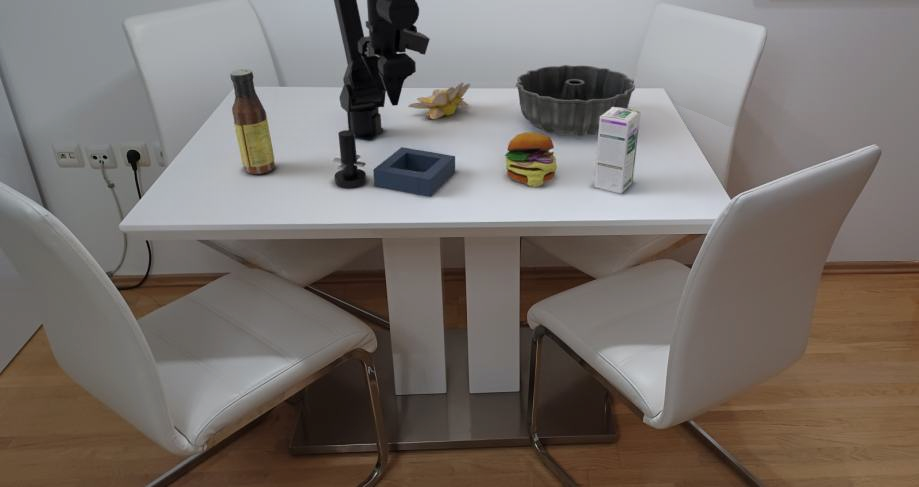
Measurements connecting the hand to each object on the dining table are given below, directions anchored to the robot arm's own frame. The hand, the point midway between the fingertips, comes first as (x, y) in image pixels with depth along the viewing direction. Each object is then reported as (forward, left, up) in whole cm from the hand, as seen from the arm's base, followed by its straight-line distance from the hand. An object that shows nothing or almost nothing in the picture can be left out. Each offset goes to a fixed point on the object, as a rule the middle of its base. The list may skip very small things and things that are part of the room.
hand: (387, 97), depth 142 cm
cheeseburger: (+29, +3, -13) cm, 32 cm away
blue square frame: (+9, -7, -13) cm, 17 cm away
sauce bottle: (-22, -15, -13) cm, 30 cm away
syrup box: (+45, +5, -13) cm, 47 cm away
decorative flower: (-1, +29, -13) cm, 32 cm away
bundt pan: (+29, +34, -13) cm, 47 cm away
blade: (-2, -13, -13) cm, 18 cm away
